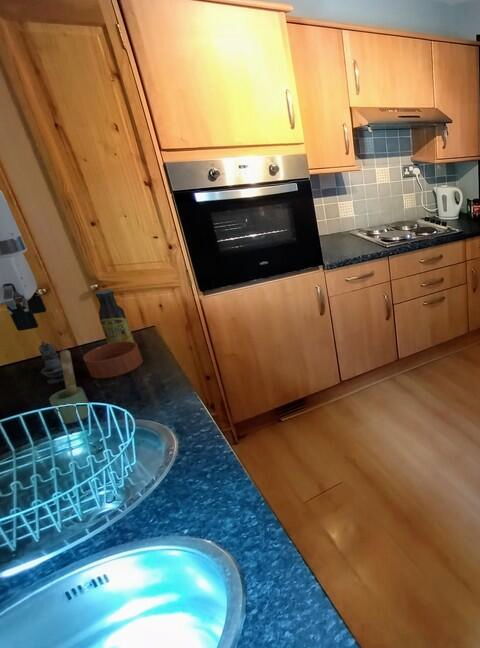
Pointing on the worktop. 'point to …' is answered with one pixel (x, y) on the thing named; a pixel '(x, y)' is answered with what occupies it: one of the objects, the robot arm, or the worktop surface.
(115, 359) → the bowl
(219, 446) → the worktop surface
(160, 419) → the worktop surface
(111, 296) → the sauce bottle
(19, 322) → the robot arm
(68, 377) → the stick
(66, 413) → the holder
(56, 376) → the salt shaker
